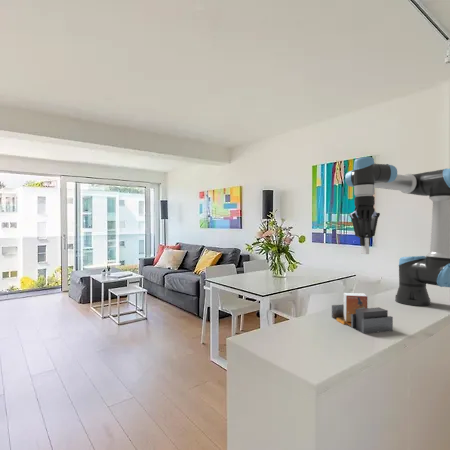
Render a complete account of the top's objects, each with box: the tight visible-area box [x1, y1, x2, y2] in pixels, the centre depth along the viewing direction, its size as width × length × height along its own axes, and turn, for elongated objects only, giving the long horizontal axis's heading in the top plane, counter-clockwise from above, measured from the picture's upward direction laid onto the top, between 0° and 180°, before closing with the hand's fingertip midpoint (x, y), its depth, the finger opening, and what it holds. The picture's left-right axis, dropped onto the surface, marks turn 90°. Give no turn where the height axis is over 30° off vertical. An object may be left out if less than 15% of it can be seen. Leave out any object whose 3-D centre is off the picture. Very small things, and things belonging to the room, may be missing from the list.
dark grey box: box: [356, 307, 389, 331], centre depth 116 cm, size 10×4×7 cm, turn 103°
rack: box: [331, 303, 394, 334], centre depth 122 cm, size 13×20×6 cm, turn 13°
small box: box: [343, 292, 368, 322], centre depth 125 cm, size 8×6×10 cm
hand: (365, 253), depth 129 cm, fingers closed
